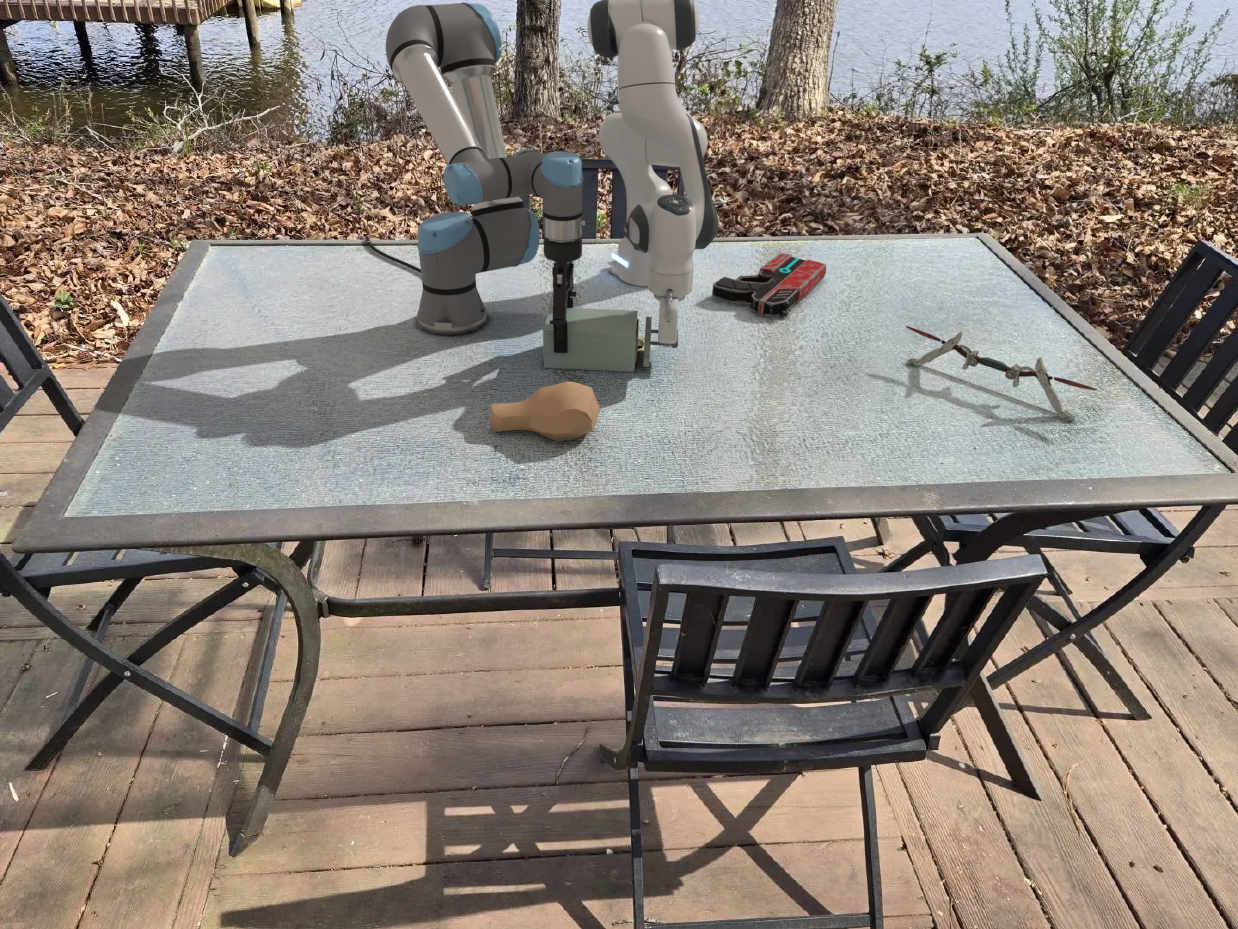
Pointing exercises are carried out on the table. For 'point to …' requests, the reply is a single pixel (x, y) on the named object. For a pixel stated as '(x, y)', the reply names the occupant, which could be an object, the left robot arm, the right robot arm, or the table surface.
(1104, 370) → the table surface
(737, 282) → the gun
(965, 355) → the bow
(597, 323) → the grey box
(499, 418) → the squash
